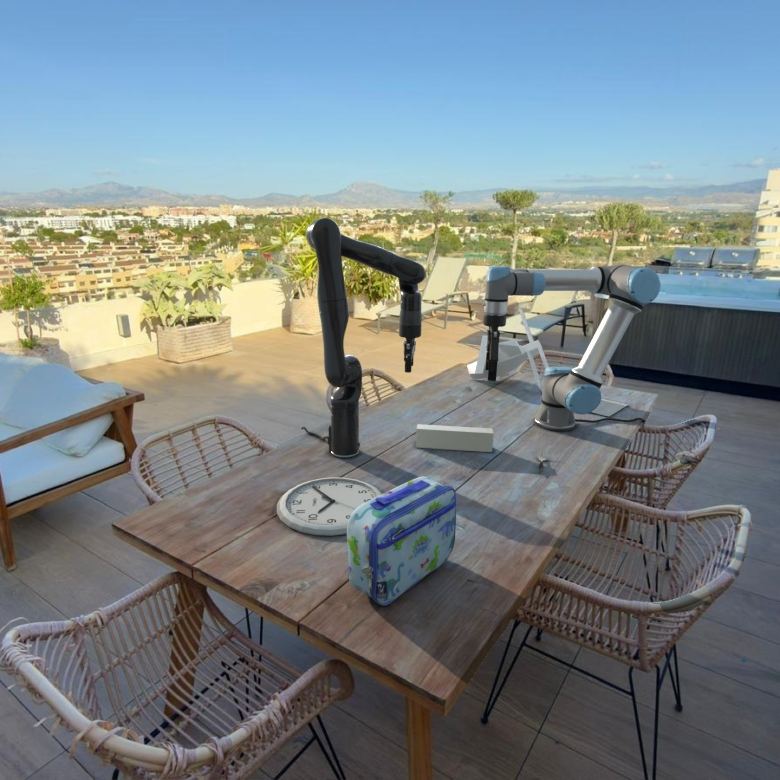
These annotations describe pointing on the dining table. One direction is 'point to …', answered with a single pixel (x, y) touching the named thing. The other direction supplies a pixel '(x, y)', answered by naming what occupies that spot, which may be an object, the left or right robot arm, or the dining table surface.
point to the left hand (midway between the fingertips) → (409, 369)
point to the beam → (454, 438)
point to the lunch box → (400, 538)
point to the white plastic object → (509, 356)
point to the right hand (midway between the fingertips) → (490, 375)
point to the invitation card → (608, 407)
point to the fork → (542, 460)
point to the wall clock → (324, 504)
